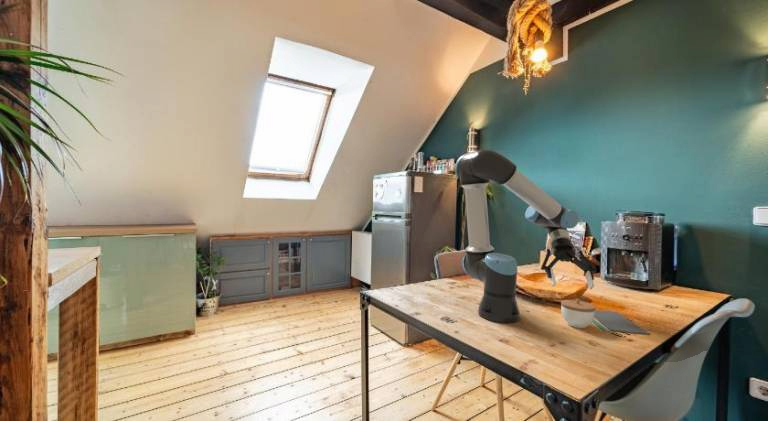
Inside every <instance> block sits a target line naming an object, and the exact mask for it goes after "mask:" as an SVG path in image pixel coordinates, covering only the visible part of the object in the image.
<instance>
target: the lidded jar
mask: <svg viewBox="0 0 768 421" xmlns="http://www.w3.org/2000/svg"><path fill="white" fill-rule="evenodd" d="M560 305H561V307H560V309H561V310H560V311H561V312H560V313H561V315H562V318H563V320H564V321H565V322H566V323H567V325H568V326H571V327H572V328H576V329H586V328H587V327H589V326H590V325H591V324H592V323H593V322H592V321H593V319H595V318H594V314H595V310H596V306H595V305H593V304H592V303H590V302H586V301H584V300H583V301H582V300H580V299H577V298H576V299H563V300H561V301H560Z"/></svg>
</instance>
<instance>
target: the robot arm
mask: <svg viewBox="0 0 768 421" xmlns="http://www.w3.org/2000/svg"><path fill="white" fill-rule="evenodd" d="M454 173H455V174H456V177H457V178H458V179H459V180H460V187H461V188H463V189H464V194H465V195H464V197H465V198H464V199H465V209H466V222H467V236H468V246H466V248H465V254H464V256H463V257H462V258H461V259H462V260H461V266H462V269H463V271H464V272H465V273H466V274H467V275H468V276H469V277H471V278H472V279H474V280H477V281H480V282H482V283H483V295H482V297H481V299H480V303H479V305H478V312H477V314H478V315H479V316H480V317H481V318H482V319H485V320H488V321H491V322H496V323H502V324H505V323H507V324H512V323H516V322H518V321H520V318H521V313H520V309H519V305H518V302H517V298H516V296H517V277H518V261H517V260H516V258H515V257H513V256H510V255H509V254H503V253H501V252H495V247H493V246H492V245H491V242H490V240H491V239H490V227H489V226H490V225H489V213H488V212H489V210H488V199H487V187H488V186H489V185H490V181H491V182H494V183H495V184H497V185H498V186H504V187H505V188H506V189H508V190H509V191H510V192H511V193H513V194H514V195H516V197H518V198H519V199H521V200H522V201H524V202H525V203H526V204H527V205H528V207H527V208H526V211H525V213H524V217H525V219H526V220H527V221H528V222H531V223H533V224H534V225H537V226H538V227H540V228H542V229H545V230H546V231H547V232H548V235H549V238H550V243H551V247H552V250H551V249H549V248H547V249H546V252H545V257H544V260H543V262H542V265H541V267H540V270H541V271H545V273H546V276H547V278H548V279H550V283H551V287H555V286H556V284H557V282H556V277H555V273H554V269H553V267H554V266H556V263H558V262H559V261H560V262H561V263H562V262H567V263H571V264H574V265H575V266H577V267H578V268H579V269H580V270H582V271H583V272H584V273H585V274H584V275H585V278H586V281H587V284H588V285H587V286H588V288H589V290H592V289H593V288H594V287H595V283H594V280H595V276H594V274H595V273H596V271H597V270H598V268H597V267H596V266H595V264H593V263H592V262H591V261H590V260H589V259H588V258H587V257H586V256H585V255H584V252H583V251H582V250H579V251H575V250H574V247H573V244H572V241H571V237H570V233H569V232H568V229H573V228H575V227H577V225H578V224H579V221H580V216H579V214H578V212H577V211H576V210H574V209H569V208H565V207H564V206H563V205H561V204H560V203H559V202H558V201H556V200H555V199H554V198H553V197H551V196H550V195H549V194H547V192H545V191H544V190H543V189H541V188H540V187H539V186H538V185H536V184H535V183H534V182H533V181H531V179H529V178H528V177H527V176H526V175H524V174H523V173H522V172H520V171H519V170H518V166H517V164H515V163H513V161H511V160H510V159H509V158H508V157H506V156H504V155H502V154H501V153H499V152H498V151H496V150H493V149H489V148H484V149H479V150H475V151H470V152H466V153H464V154H462V155H461V156H460V157H459V158H458V159H457V160H456V163H455V167H454ZM552 255H553V256H554V258H553V260H552V261H551V262H549V264H548V265H547V263H548V261H549V258H550V257H551V256H552Z"/></svg>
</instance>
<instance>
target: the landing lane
mask: <svg viewBox="0 0 768 421" xmlns="http://www.w3.org/2000/svg"><path fill="white" fill-rule="evenodd" d="M592 323H593V324H595V326H597V327H598V328H599V329H601V330H602V332H608V333H609V332H617V333H618V332H619V333H627V334H639V335H651V333H650V332H649V331H647V330H645V329H644V328H642V327H641V326H639V325H638V324H636V323H635V322H633V321H632V320H630V319H629V318H627V317H626V316H624V315H622V314H621V313H620V312H618V311H612V310H602V309H601V310H597V309H595V314H594V319H593V321H592Z"/></svg>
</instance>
